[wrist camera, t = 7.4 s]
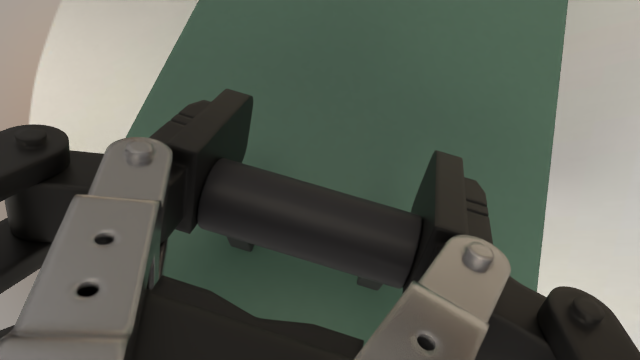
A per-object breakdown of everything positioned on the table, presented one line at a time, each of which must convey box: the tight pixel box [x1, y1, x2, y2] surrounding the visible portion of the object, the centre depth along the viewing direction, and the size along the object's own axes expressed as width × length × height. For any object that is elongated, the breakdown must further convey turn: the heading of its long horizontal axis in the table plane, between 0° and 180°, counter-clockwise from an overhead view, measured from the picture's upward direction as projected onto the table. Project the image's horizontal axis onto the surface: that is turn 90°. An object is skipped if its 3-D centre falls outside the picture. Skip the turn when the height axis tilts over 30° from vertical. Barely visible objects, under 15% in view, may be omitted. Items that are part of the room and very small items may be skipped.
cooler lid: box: [126, 0, 568, 347], centre depth 16 cm, size 19×14×5 cm
